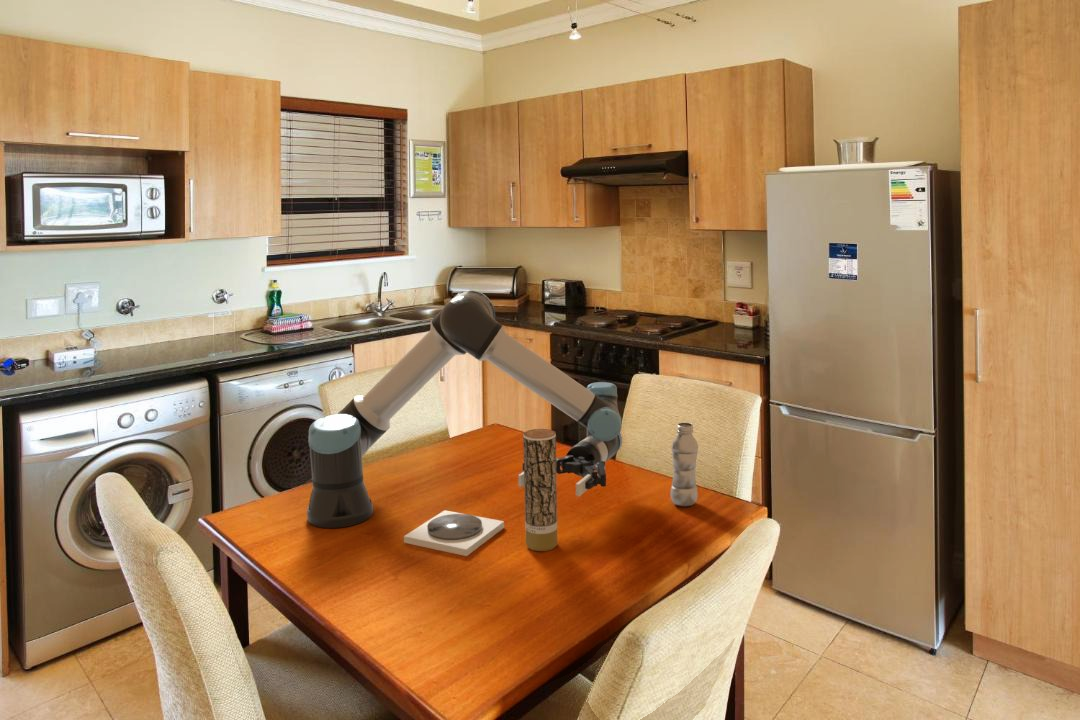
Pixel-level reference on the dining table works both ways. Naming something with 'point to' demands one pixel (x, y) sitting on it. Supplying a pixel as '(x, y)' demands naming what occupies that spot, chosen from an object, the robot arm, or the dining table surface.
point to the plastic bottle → (684, 466)
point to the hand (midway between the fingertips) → (548, 485)
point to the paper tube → (540, 489)
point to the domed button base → (454, 532)
